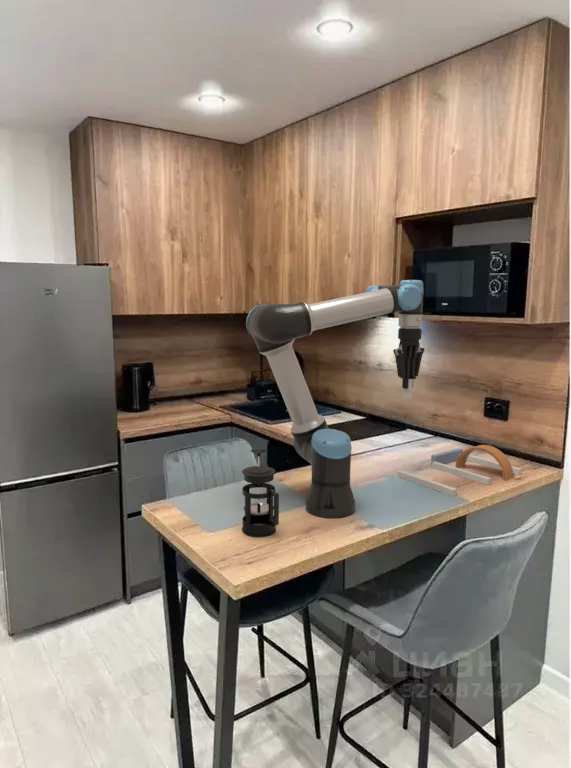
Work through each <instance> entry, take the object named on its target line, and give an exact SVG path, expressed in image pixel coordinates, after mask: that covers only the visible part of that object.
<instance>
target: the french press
mask: <svg viewBox="0 0 571 768" xmlns="http://www.w3.org/2000/svg"><path fill="white" fill-rule="evenodd" d="M250 451H251V453H254V454H256V457H257V465H255V466H253V465H252V466H248V467H246V468H243V469H242V471H241V473H242V475H243V480H244V481H245V482H247V483H248V484H246V485H245V484H244V486H242V489H241V491H242V492H241V493H242V495H243V496H244V506H243V511H244V515H243V516H242V527H241V532H242V534H244V535H245V536H247V537H251V538H266V537H270V536H272V535H274V534H275V533H276V530H277V526H279V524H280V523H279V522H280V520H279V519H280V511H279V510H280V494H279V493H277V492H276V486H275V485H273V484H271V483H270V482H273V480H274V476H275V473H276V469H274V468H273V467H270V466H267V465H266V466H264V465H260V457H261V454H262V453H266V452H267V449H265V448H264V447H256V448H252V449H251V450H250ZM255 488H257V493H251V492H250V490H251V489H255ZM260 488H263V489H266V493H265V492H264V493H260ZM252 499H253V500H254V499H255V500H258V501H257V502H256V501H255V502H252ZM262 499H264V500H265V499H266V502H262V501H260V500H262Z"/></svg>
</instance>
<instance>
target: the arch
mask: <svg viewBox="0 0 571 768" xmlns="http://www.w3.org/2000/svg"><path fill="white" fill-rule="evenodd" d="M473 451H481V452H483V453H484V452H485V453H487V454H488V455H490V456H491V457H493V458H494V459H495V460H496V462H498V463H499V465H500V467H501V469H502V470H501V471H502V477H503V478H502V479H503V481H506V482H507V481H508V480H511V479H513V478H514V473H513V469H512V466H513V465H512V464H511V462H510V459H509V458H508V457H507V456H506V454H505V453H504V452H502V451H501V450H500V449H499V448H496V447H495V446H492V445H488V444H480V445H476V446H473V447H470V448H466V449H465V450H463V452H462V453H461V454H460V456H459V457H458V459H457V461H455V466H454V467H456V468H459V469H461V468H462V467H464V466H466V462H467V460H466V459H467V457H468V456H469V455H471V453H472V452H473Z"/></svg>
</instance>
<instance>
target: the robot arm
mask: <svg viewBox="0 0 571 768" xmlns="http://www.w3.org/2000/svg"><path fill="white" fill-rule="evenodd" d="M423 307H424V282H423V281H422V280H421V279H419V280H418V279H406V280H405V279H402V280H401V281H400V282H399V284H396V285H395V284H393V285H392V284H391V285H389V284H388V285H378V284H377V285H369V286H368V287H367V288H366V289H365V292H362V293H357V294H353V295H347V296H343V297H337V298H334V299H333V298H331V299H328V300H323V301H320V302H319V301H318V302H314V303H310V304H309V303H306V302H304V301H301V302H296V303H269V302H264V303H261V304H258V305H256V306H254V307H253V308H252V309H251V310H250V311H249V312H248V315H247V316H246V322H245V323H246V324H245V326H246V330H247V332H248V334H249V335H250V337H252V339H253V340H254V342H255V345H256V348H257V350H258V352H259V354H261V355H263V356H265V357H266V358H267V361H268V364H269V366H270V369H271V372H272V374H273V376H274V379H275V382H276V384H277V386H278V389H279V392H280V394H281V396H282V399H283V402H284V403H285V407H286V408H287V412H288V414H289V417H290V419H291V421H292V425H291V427H290V432H291V434H292V437H293V439H292V441H293V447H294V449H295V451H296V453H297V454H298V455H299V457H301V458H303V459H304V460H305V461H306V462H308V463H309V464H310V465H311V483H310V487H309V490H308V494H307V497H306V498H305V510H306V511H307V512H308V514H309V513H310V514H311V515H313V516H317V517H321V518H326V519H327V518H328V519H335V518H336V519H337V518H343V517H344V518H345V517H349V516H350V515H352V514H354V513H355V511H356V500H355V497H354V494H353V491H352V490H353V489H352V487H351V466H352V464H351V463H352V459H351V458H352V451H353V450H352V440H351V437H350V436H349V434H348V433H346V432H344V431H342V430H338V429H335V428H329V425H328V423H327V421H326V418H325V416H324V415H321V414H319V413H318V410H317V408H316V405H315V402H314V400H313V397H312V394H311V392H310V389H309V387H308V384H307V381H306V379H305V376H304V374H303V372H302V371H303V370H302V369H301V365H300V364H299V361H298V358H297V356H296V353H295V351H294V348H293V344H294V342H295V340H296V339H300V338H304V337H307V336H311V335H312V333H313V332H314V331H318V330H322V329H326V328H330V327H331V328H332V327H334V326H339V325H344V324H348V323H352V322H356V321H361V320H365V319H370V318H373V317H379V316H382V315H387V314H391V313H397V312H398V324H397V325H398V327H399V328H398V329H397V330H398V332H397V333H398V334H397V338H398V339H399V343H398V347H397V348H396V349H395V348H394V349H393V354H394V356H395V357H394V358H395V364H396V371H397V376H398V377H399V379H401V380H402V381H401V382H402V398H404V399H413V389H414V380H415V379H417V377H418V376H419V374H420V368H421V363H422V357H423V354H424V352H425V347H421V345H420V340H421V339H422V331H423V330H422V328H421V327H422V325H423V324H422V322H423V319H422V318H423V309H424V308H423Z"/></svg>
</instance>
